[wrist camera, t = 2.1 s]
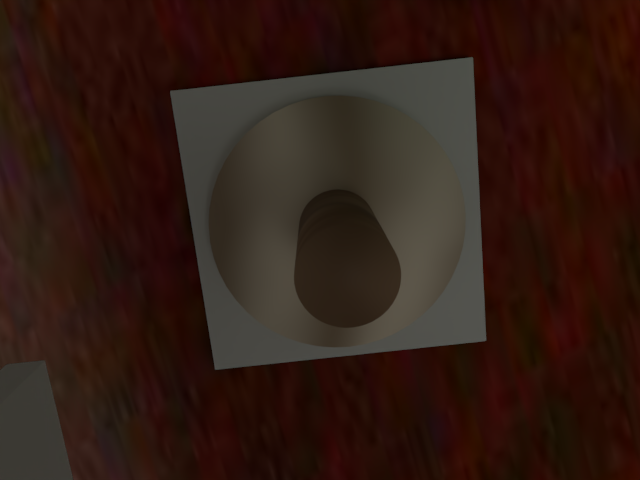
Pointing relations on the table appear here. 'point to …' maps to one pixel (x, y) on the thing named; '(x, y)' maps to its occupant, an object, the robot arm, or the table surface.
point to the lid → (337, 221)
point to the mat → (272, 95)
